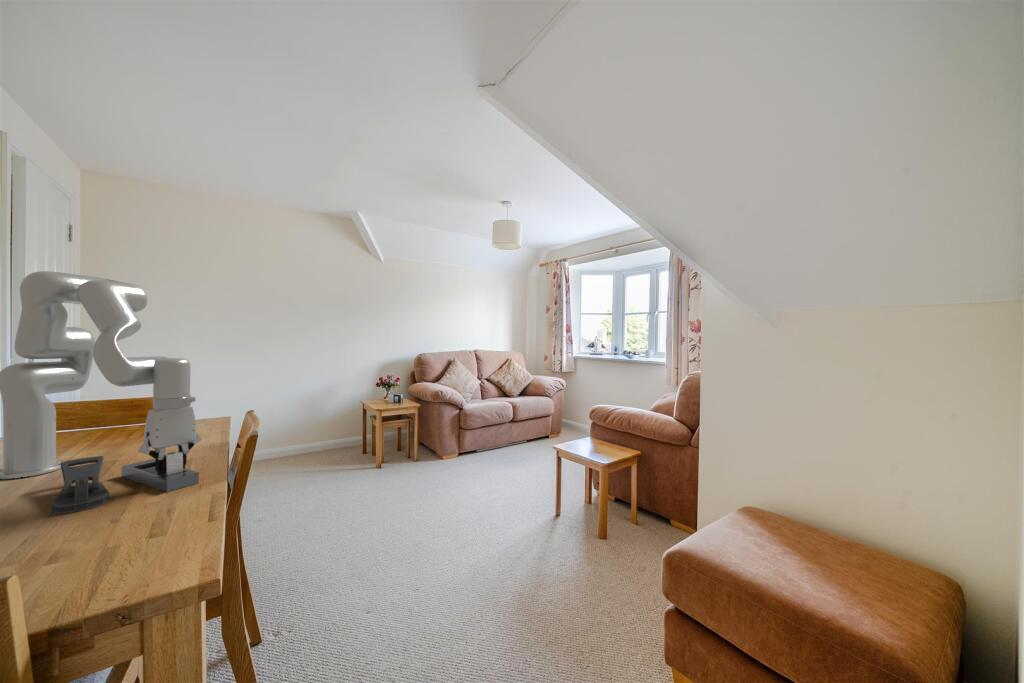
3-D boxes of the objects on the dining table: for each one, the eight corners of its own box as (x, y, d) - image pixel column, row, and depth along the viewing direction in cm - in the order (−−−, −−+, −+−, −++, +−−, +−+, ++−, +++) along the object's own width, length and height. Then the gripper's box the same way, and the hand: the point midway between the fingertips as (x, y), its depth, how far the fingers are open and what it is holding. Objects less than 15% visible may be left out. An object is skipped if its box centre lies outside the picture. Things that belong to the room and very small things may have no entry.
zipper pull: (106, 454, 108) (109, 477, 91) (106, 477, 108) (109, 505, 91) (57, 461, 101) (51, 488, 84) (57, 486, 101) (50, 518, 84)
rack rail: (121, 476, 109) (122, 465, 109) (153, 469, 115) (153, 458, 115) (167, 492, 99) (167, 480, 99) (198, 483, 105) (198, 472, 105)
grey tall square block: (159, 484, 103) (159, 454, 103) (176, 479, 107) (175, 450, 107) (167, 485, 102) (166, 455, 102) (183, 481, 105) (182, 451, 105)
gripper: (199, 398, 113) (198, 460, 113) (124, 407, 98) (123, 478, 98) (214, 400, 110) (213, 464, 110) (139, 410, 95) (138, 483, 95)
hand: (171, 470), depth 104 cm, fingers closed on grey tall square block, 3 cm apart
